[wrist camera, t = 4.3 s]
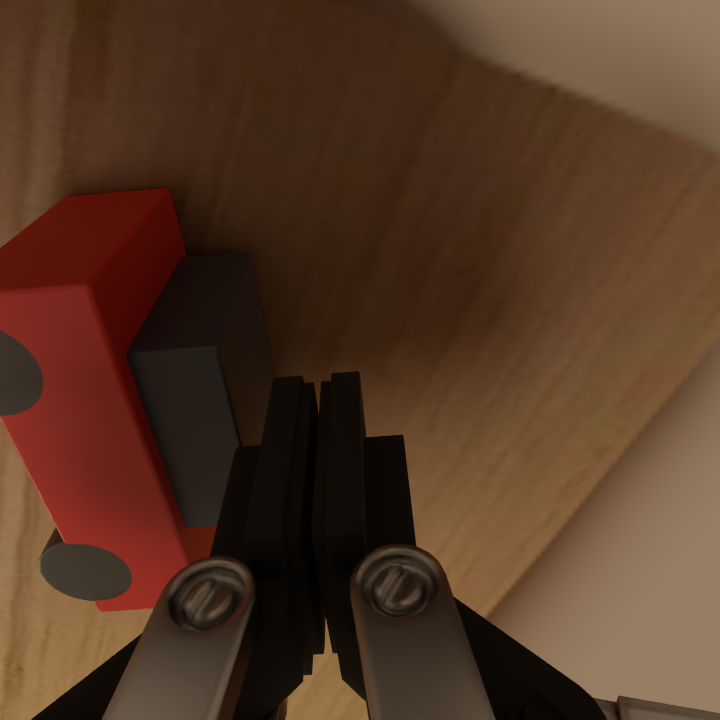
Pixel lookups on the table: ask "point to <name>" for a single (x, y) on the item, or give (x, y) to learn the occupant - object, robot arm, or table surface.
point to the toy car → (127, 388)
